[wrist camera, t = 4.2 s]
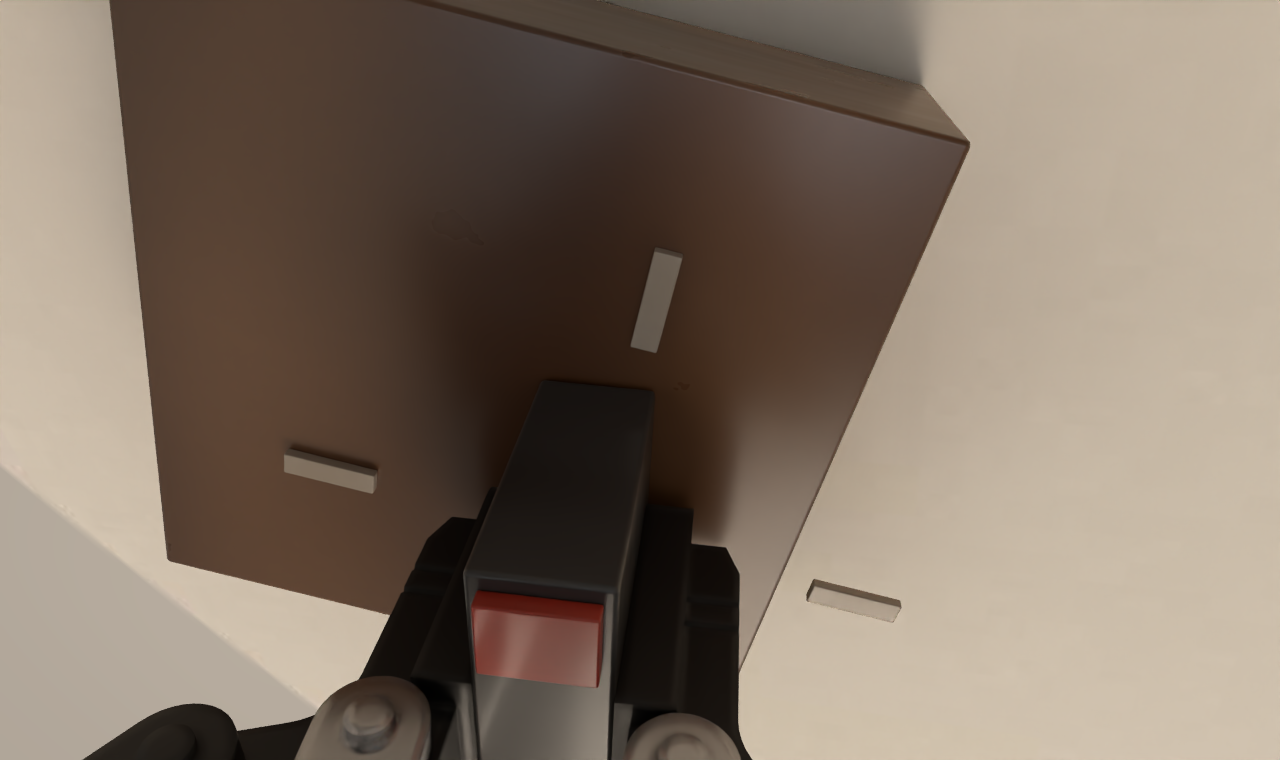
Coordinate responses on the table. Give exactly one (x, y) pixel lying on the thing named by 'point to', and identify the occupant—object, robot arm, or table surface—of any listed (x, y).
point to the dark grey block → (559, 574)
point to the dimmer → (502, 267)
